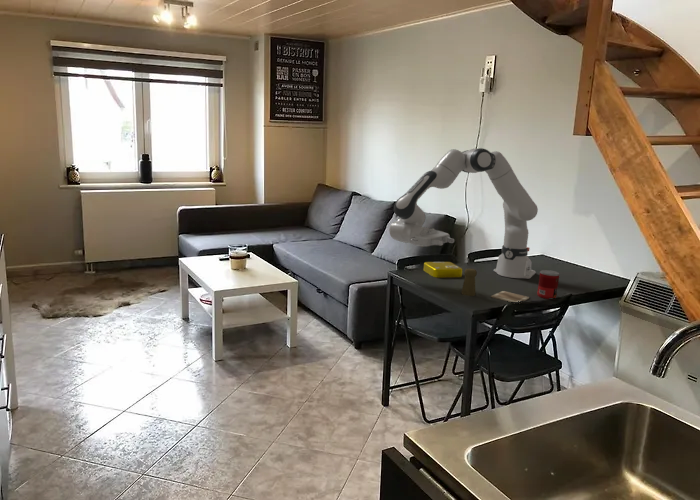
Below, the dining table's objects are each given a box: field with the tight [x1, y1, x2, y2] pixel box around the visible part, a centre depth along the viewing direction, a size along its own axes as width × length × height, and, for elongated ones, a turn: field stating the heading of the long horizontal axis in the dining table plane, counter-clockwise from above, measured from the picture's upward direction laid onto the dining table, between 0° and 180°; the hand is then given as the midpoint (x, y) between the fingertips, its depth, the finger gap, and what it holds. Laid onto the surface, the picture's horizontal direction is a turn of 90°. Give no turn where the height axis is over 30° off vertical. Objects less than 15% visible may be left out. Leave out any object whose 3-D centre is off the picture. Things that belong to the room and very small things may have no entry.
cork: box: [461, 267, 478, 297], centre depth 246 cm, size 6×6×11 cm
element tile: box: [423, 261, 464, 279], centre depth 280 cm, size 15×15×5 cm
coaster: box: [490, 290, 530, 303], centre depth 245 cm, size 12×12×1 cm
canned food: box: [536, 269, 560, 300], centre depth 249 cm, size 8×8×11 cm
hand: (448, 242), depth 251 cm, fingers open, 8 cm apart
